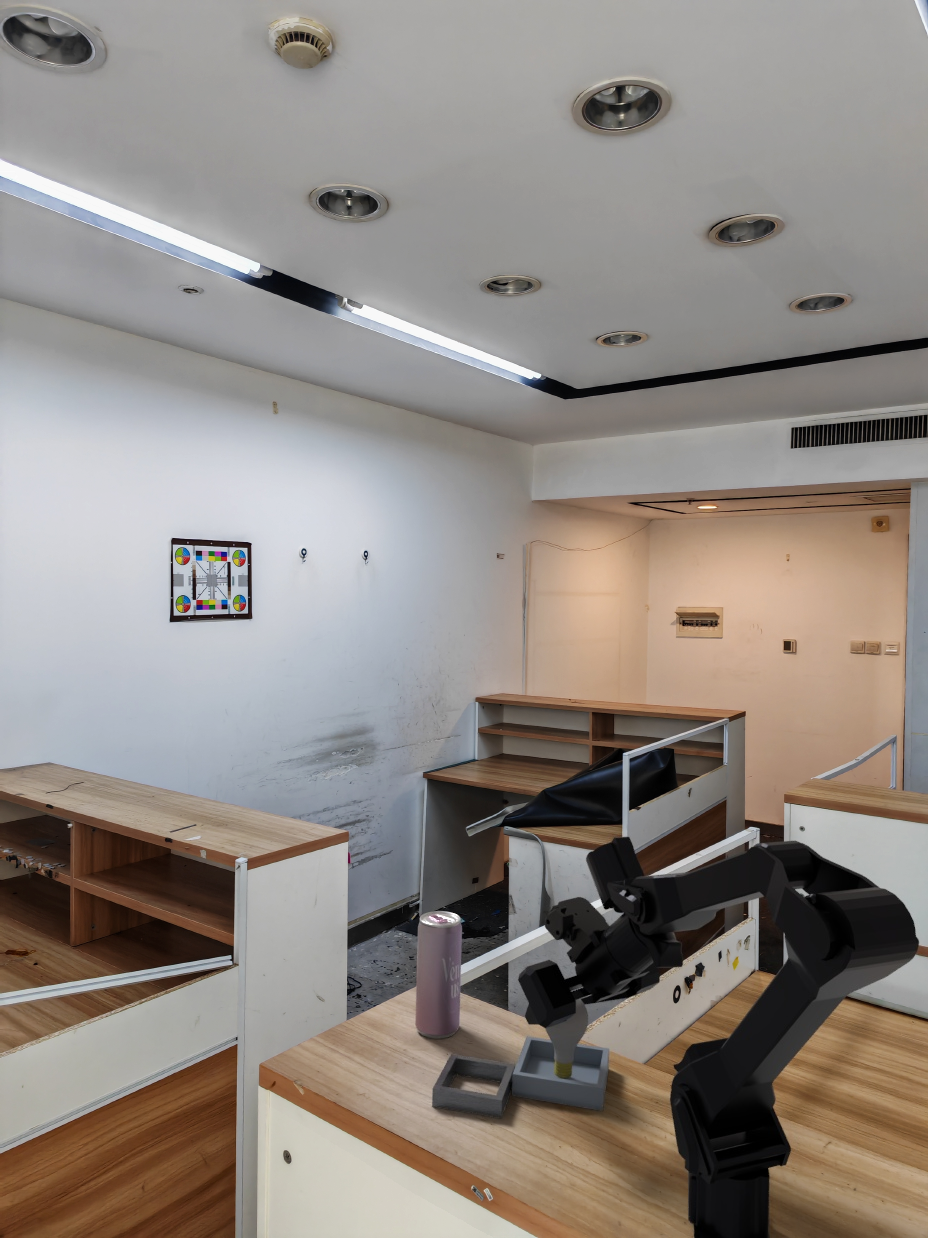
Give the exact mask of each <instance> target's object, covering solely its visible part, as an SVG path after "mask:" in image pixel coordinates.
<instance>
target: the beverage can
mask: <svg viewBox="0 0 928 1238" xmlns="http://www.w3.org/2000/svg"><path fill="white" fill-rule="evenodd" d="M461 920H462V919H461V916H460V915H458V914H456V913H453V912H450V911H443V910H437V911H436V910H435V911H429V912H426V913H425V912H424V913H423V914H421V915H420V917H419V923H418V926H417V949H416V952H417V953H416V956H417V958H416V988H415V989H416V990H415V992H416V993H415V1023H414V1024H415V1027H416V1030H417V1031H418V1033H419V1034H420V1035H421V1036H423V1037H425V1038H429V1039H435V1040H438V1039H439V1040H441V1039H446V1038H449V1037H452V1036H453V1035H455V1034H456V1032H457V1031H458V1029H459V1027H460V1021H461V1020H460V1014H461V1013H460V1012H461V982H462V981H461V979H462V978H461V977H462V976H461V975H462V973H461V972H462V943H463V942H462V940H463V939H462V938H463V937H462V936H463V926H462V923H461Z"/></svg>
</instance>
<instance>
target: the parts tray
mask: <svg viewBox="0 0 928 1238" xmlns="http://www.w3.org/2000/svg"><path fill="white" fill-rule="evenodd" d="M523 1042H524V1043H523V1045H522V1048H521V1050H520V1054H519V1056H518V1059H517V1062H516V1064H515V1069H514V1072H513V1084H512V1090H511V1095H512V1097H518V1098H522V1099H530V1100H536V1101H542V1102H548V1103H554V1104H557V1105H558V1104H560V1105H564V1106H565V1105H566V1106H571V1107H578V1108H583V1109H589V1110H595V1111H600V1112H603V1110H604V1104H605V1103H604V1102H605V1096H606V1091H605V1090H607V1084H606V1083H608V1076H609V1071H610V1070H609V1069H610V1048H609V1047H601V1046H597V1045H596V1046H594V1045H587V1044H582V1043H578V1044H577V1046H576V1048H575V1049H574V1056H573V1063H572V1075H571V1077H569V1078H566V1079H561V1078H559V1077H557V1076H556V1075H555V1073H554V1070H555V1069H554V1068H555V1059H554V1055H555V1050H554V1046H553V1044H552V1042H551V1039H550V1038H549V1039H547V1038H541V1037H534V1036H528V1035H527V1036H526V1037H525V1040H524V1041H523ZM608 1070H609V1071H608Z"/></svg>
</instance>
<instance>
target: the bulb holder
mask: <svg viewBox="0 0 928 1238" xmlns="http://www.w3.org/2000/svg"><path fill="white" fill-rule="evenodd" d="M515 1067H516V1064H515V1063H510V1062H504V1061H499V1060H498V1061H497V1060H490V1059H485V1058H479V1057H471V1056H465V1055H459V1054H454V1053H450V1056H449V1058H448V1059H447V1061H446V1062H445V1065H444V1066H443V1068H442V1070H441V1072H440V1074H439V1076H438V1078H437V1080H436V1081H435V1083H434V1085H433V1087H432V1094H431V1095H432V1097H431V1098H432V1099H431V1100H432V1101H431V1106H432V1107H433V1108H439V1109H445V1110H450V1111H456V1112H461V1113H465V1114H466V1113H467V1114H472V1115H478V1116H483V1117H491V1118H496V1119H502V1118H503V1115H504V1112H505V1109H506V1107H507V1104H508V1102H509V1099H510V1095H511V1094H512V1084H513V1072H514V1069H515ZM455 1076H459V1077H460V1076H461V1077H464V1078H465V1077H467V1078H472V1079H473V1078H474V1079H478V1080H484V1081H490V1082H496V1083H500V1085H499V1086H498V1090H497V1092H496V1094H491V1093H484V1092H480V1091H479V1092H478V1091H473V1090H468V1089H462V1088H461V1089H460V1088H456V1087H455V1088H454V1087H450V1086H451V1085H452V1083H453V1080H454V1078H455Z"/></svg>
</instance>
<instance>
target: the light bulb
mask: <svg viewBox="0 0 928 1238" xmlns="http://www.w3.org/2000/svg"><path fill="white" fill-rule="evenodd" d="M588 1025H589V1013H588V1009H587V1007H586V1005H585V1004H584V1003H583V1002H582V1000H581V999H579V1000H576V1013H575V1014H574V1015H573V1016H572V1017H570V1018H569V1019H567V1021H565V1022H562V1023H559V1024H557V1025H554V1026H551V1027H548V1028H544V1029H545V1031H546V1034H547V1036H548V1037H549V1040H551V1042H552V1044H553V1046H554V1050H555V1055H554V1059H555V1068H554V1069H555V1070H554V1073H555V1075H556V1076H557V1077H559V1078H561V1079H566V1078H569V1077H571V1075H572V1063H573V1056H574V1049H575V1048H576V1046H577V1044H580V1041H581V1040H582V1038H583V1037H584V1035H585V1033H586V1032H587V1028H588Z"/></svg>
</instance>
